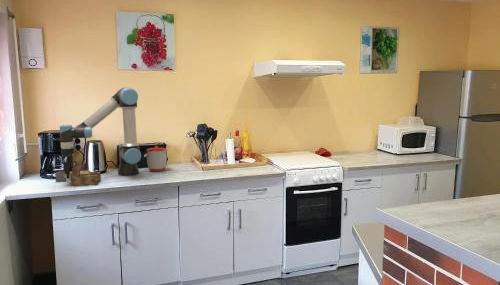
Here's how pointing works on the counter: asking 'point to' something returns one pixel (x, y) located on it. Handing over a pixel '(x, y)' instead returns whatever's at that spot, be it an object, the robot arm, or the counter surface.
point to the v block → (60, 176)
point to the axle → (80, 173)
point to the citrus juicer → (156, 158)
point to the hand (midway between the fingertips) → (69, 181)
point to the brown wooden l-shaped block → (84, 177)
